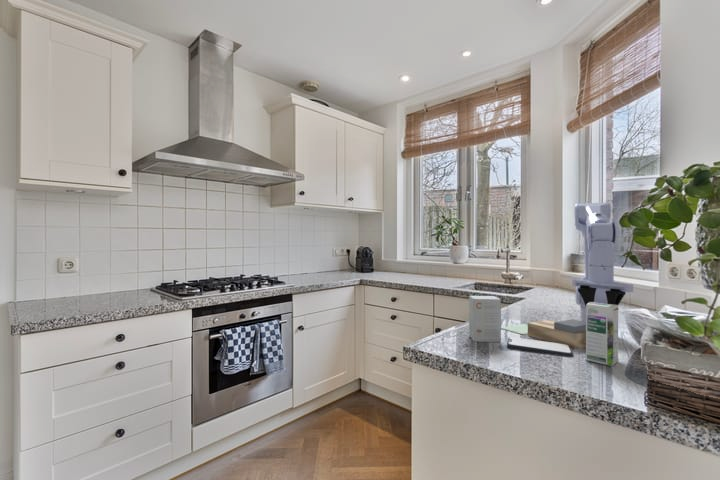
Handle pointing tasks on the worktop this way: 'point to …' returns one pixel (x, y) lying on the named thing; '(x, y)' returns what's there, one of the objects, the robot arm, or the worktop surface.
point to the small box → (485, 318)
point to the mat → (517, 329)
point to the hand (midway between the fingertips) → (600, 314)
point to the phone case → (539, 346)
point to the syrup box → (602, 333)
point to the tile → (571, 326)
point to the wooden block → (555, 334)
